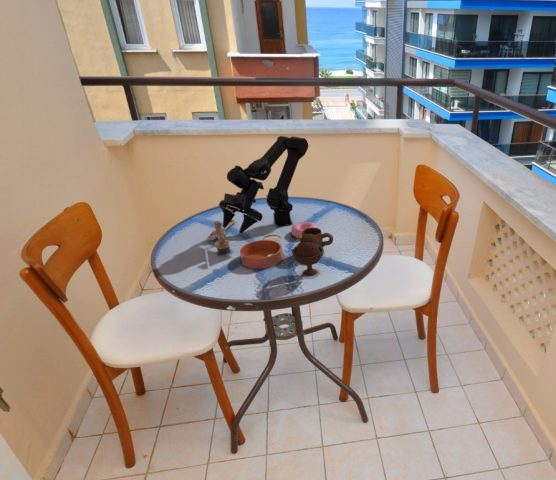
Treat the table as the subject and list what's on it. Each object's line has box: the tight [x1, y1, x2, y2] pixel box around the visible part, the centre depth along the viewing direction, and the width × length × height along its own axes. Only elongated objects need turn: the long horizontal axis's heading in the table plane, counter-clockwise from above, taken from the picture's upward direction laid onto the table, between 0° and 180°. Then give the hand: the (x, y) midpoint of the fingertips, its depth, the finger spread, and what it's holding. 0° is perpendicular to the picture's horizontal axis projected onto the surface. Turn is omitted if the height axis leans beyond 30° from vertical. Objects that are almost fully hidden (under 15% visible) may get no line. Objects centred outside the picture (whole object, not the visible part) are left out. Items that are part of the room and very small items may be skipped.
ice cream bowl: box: [291, 234, 325, 277], centre depth 144 cm, size 11×11×15 cm
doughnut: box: [290, 221, 318, 239], centre depth 174 cm, size 11×11×4 cm
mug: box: [302, 227, 334, 249], centre depth 158 cm, size 12×8×9 cm, turn 82°
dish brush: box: [213, 220, 231, 256], centre depth 157 cm, size 5×5×13 cm
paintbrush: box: [206, 219, 236, 241], centre depth 175 cm, size 4×3×20 cm
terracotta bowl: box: [239, 239, 284, 270], centre depth 156 cm, size 15×15×4 cm
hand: (232, 230), depth 161 cm, fingers open, 9 cm apart
